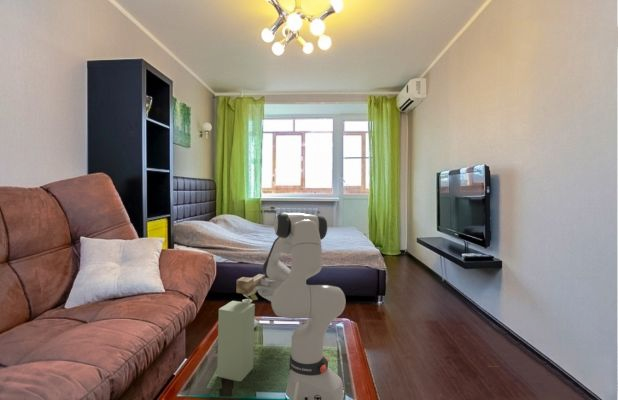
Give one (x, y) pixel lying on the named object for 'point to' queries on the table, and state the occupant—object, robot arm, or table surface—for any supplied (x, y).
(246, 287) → the block
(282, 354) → the table surface
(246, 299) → the flower in vase
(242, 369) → the pedestal
